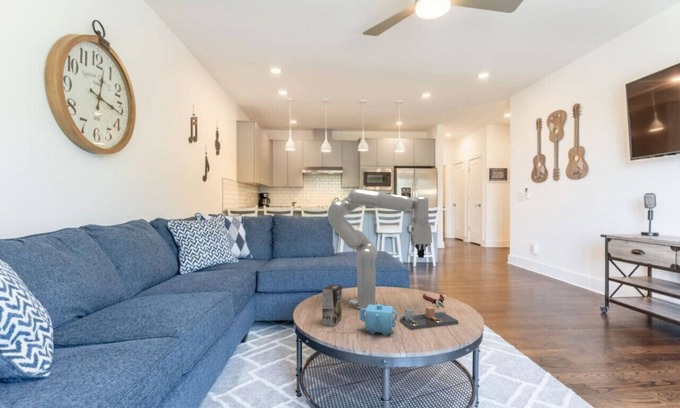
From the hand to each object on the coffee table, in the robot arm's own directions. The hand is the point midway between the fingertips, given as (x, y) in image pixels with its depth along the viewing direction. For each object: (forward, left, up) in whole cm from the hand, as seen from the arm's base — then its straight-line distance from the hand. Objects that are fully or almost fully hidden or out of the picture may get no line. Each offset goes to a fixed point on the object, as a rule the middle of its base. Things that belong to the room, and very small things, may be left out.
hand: (420, 257), depth 158 cm
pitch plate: (-5, -15, -27) cm, 31 cm away
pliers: (+15, +12, -28) cm, 34 cm away
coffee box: (-47, -2, -27) cm, 54 cm away
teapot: (-31, -18, -27) cm, 45 cm away
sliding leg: (-3, -15, -25) cm, 30 cm away
